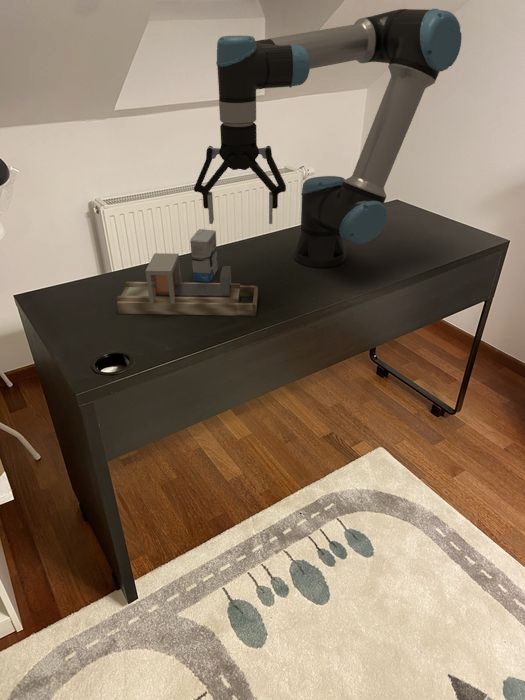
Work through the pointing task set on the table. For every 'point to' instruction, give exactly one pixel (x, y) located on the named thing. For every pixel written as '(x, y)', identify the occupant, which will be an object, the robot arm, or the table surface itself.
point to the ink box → (204, 255)
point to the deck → (188, 302)
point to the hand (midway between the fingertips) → (241, 222)
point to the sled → (195, 286)
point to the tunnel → (163, 272)
